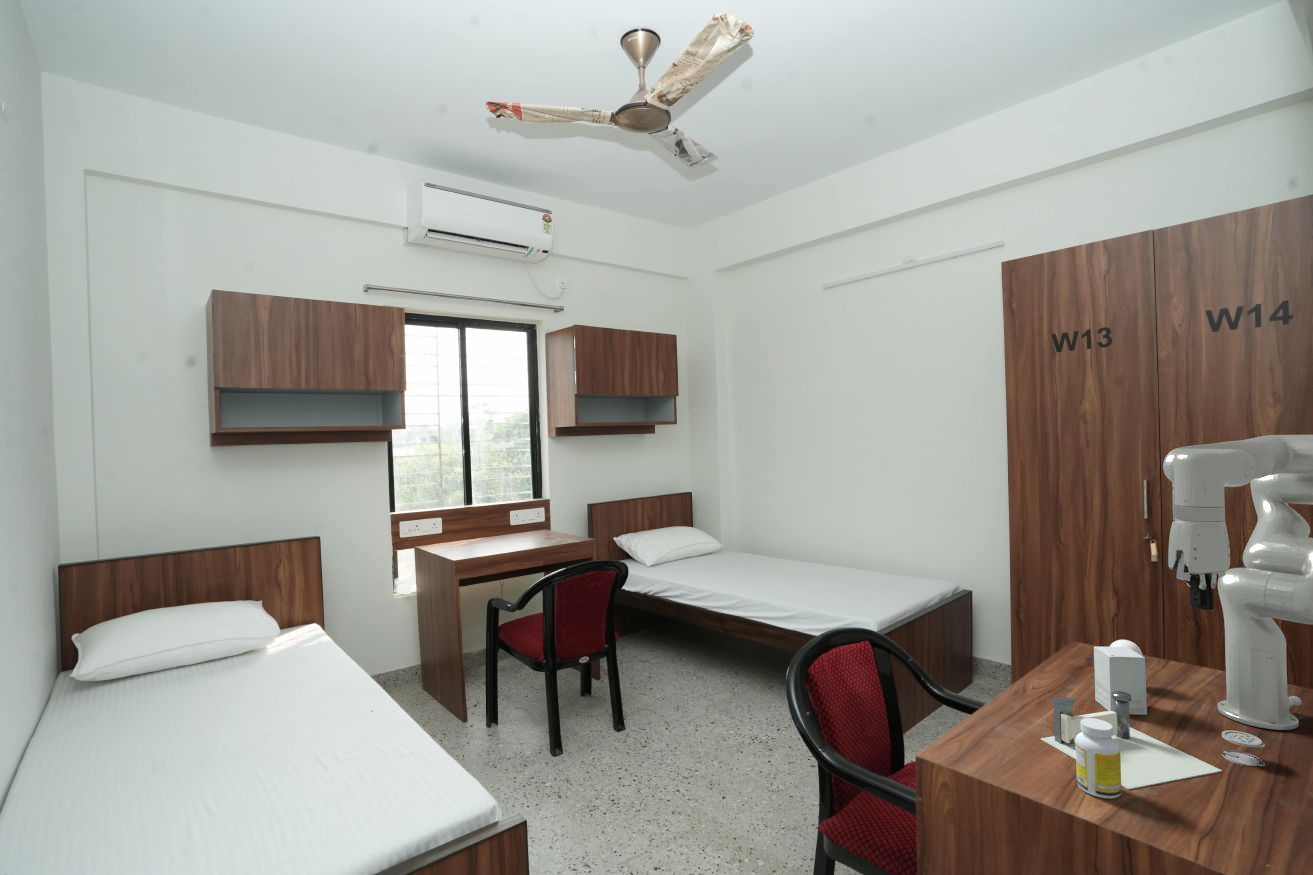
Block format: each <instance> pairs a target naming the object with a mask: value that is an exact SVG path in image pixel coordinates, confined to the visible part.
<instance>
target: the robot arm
mask: <svg viewBox="0 0 1313 875" xmlns="http://www.w3.org/2000/svg"><path fill="white" fill-rule="evenodd" d="M1162 469H1163V470H1162V471H1163V473H1164V475H1165V477H1166V478H1167V479H1168V480H1169V481H1170V482H1172V483H1173V496H1174V497H1173V498H1174V501H1173V502H1174V521H1172V523H1171V527H1170V533H1169V539H1168V540H1169V541H1168V554H1167V556H1168V558H1167V564H1168V568H1169V569H1170V570H1171V571H1175V572H1176V579H1177V580H1182V581H1185V582H1186V585H1187V587H1189V598H1190V599H1189V603H1190V606H1191V607H1193V608H1196V609H1199V610H1204V611H1210V610H1211V611H1212V610H1214V608H1215V607H1214V603H1215V602H1214V601H1215V600H1214V589H1216V587H1217V591H1218V596H1219V600H1220V604H1221V608H1222V615H1223V620H1224V622H1223V624H1224V648H1225V650H1224V651H1225V654H1224V655H1225V679H1226V680H1225V681H1226V682H1225V684H1226V685H1225V687H1226V688H1225V689H1226V690H1225V691H1226V699H1224V700H1221V701H1219V702H1218V703H1217V710H1218V712H1219V713H1220V714H1221V715H1223V716H1224V717H1225V718H1226V717H1227V718H1228V719H1230V720H1232V721H1235V722H1237V723H1242V724H1244V725H1248V726H1251V727H1255V728H1261V729H1267V730H1272V731H1273V730H1276V731H1291V730H1294V729H1297V728H1298V727H1299V724H1300V722H1299V721H1300V720H1299V719H1298V717H1297V716H1295V715H1294V713H1293V714H1292V713H1291V712H1290V709H1291V708H1292V707H1296V706H1297V707H1298V706H1301V705H1302V704H1303V702H1302V699H1301V698H1300V697H1298V696H1296V695H1291V696H1288V674H1287V672H1288V671H1287V670H1288V669H1287V668H1288V667H1287V665H1288V664H1287V641H1286V637H1285V634H1284V633H1283V631H1282V629H1281V628H1280V626H1278V624H1277V623H1276V622H1275V620H1274V619H1277V620H1282V621H1289V622H1293V623H1298V624H1305V625H1311V626H1313V537H1309V536H1310V534H1311V528H1310V525H1309V523H1308V521H1306V520H1305V518H1304V517H1303V516H1302V515H1301V514H1300V513H1298V512H1297V511H1296V510H1295V509H1294V508H1292V507H1291V506H1289V504H1296V505H1297V504H1299V505H1311V506H1313V434H1269V435H1262V436H1257V437H1252V438H1247V439H1241V440H1230V441H1222V442H1215V443H1214V442H1213V443H1207V444H1203V443H1202V444H1196V445H1186V446H1182V447H1177V448H1174V449H1172V450H1171V451H1169V452H1168V453H1167V454H1166V456H1165V457H1164V460H1163V464H1162ZM1249 483H1250V492H1251V497H1252V498H1251V499H1252V502H1253V506H1254V508H1255V512H1256V515H1257V522H1256V525H1255V527H1254V529H1253V530H1252V533H1251V535H1250V538H1248V542H1247V544H1246V546H1245V548H1244V550H1243V554H1242V562H1243V565H1244V567H1234V568H1230V566H1231V549H1230V548H1231V547H1230V539H1229V534H1228V527H1227V524H1226V510H1225V509H1226V504H1225V499H1226V498H1225V487H1227V488H1236V487H1243V486H1246V485H1248V484H1249Z"/></svg>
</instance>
